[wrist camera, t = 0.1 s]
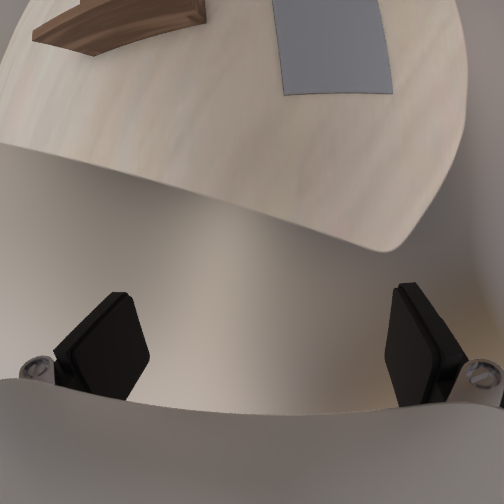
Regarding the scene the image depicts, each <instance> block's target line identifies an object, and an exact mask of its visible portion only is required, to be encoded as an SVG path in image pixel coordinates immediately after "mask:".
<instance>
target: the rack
mask: <svg viewBox="0 0 504 504" xmlns="http://www.w3.org/2000/svg"><path fill="white" fill-rule="evenodd" d="M204 23H206V12H205V1H204V0H80V5H78V6H76V7H74V8H72V9H70V10H68V11H66V12H64V13H62V14H60V15H59V16H57V17H55V18H53V19H52V20H50V21H48V22H46V23H45V24H43V25H41V26H40V27H38V28H36V29H35V30H33V34H32V41H35V42H39V43H44V44H48V45H53V46H57V47H61V48H65V49H69V50H72V51H76V52H80V53H83V54H87V55H90V56H96V55H99V54H101V53H104V52H107V51H109V50H112V49H115V48H117V47H120V46H123V45H126V44H129V43H132V42H135V41H138V40H142V39H145V38H148V37H151V36H155V35H158V34H162V33H166V32H170V31H173V30H177V29H182V28H186V27H190V26H195V25H199V24H204Z"/></svg>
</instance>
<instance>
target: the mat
mask: <svg viewBox="0 0 504 504" xmlns="http://www.w3.org/2000/svg"><path fill="white" fill-rule="evenodd" d="M272 2H273V9H274V16H275V23H276V31H277V38H278V46H279V54H280V62H281V70H282V79H283V88H284V95H298V94H320V93H377V94H393V87H392V79H391V71H390V64H389V58H388V52H387V46H386V40H385V35H384V29H383V24H382V19H381V15H380V10H379V6H378V2H377V0H272Z"/></svg>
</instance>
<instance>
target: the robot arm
mask: <svg viewBox="0 0 504 504" xmlns="http://www.w3.org/2000/svg"><path fill="white" fill-rule="evenodd" d="M53 352H54V354H55V356H56V358H57V360H56V361H55V362H54V361H53V359H52V358H51V357H49V356H37V357H35V358H32V359H30V360H29V361H27V362H26V363H25V364H24V365H23V366H22V367H21V369H20V372H19V378H10V379H2V380H0V504H504V370H503V369H502V368H501V367H500V366H499V365H498V364H496V363H495V362H493V361H490V360H487V359H473V360H470V361H469V360H468V358H467V356H466V355H465V353H464V352H463V350H462V348H461V347H460V345H459V344H458V342H457V340H456V339H455V338H454V336H453V334H452V333H451V331H450V330H449V328H448V327H447V325H446V324H445V322H444V321H443V319H442V318H441V317H440V316H439V315H438V313H437V312H436V310H435V309H434V307H433V306H432V305H431V303H430V302H429V300H428V299H427V297H426V296H425V295H424V293H423V292H422V290H421V289H420V288H419V286H418V285H417V284H416V283H415V282H413V283H402V284H399V286H398V288H394V290H393V296H392V306H391V313H390V321H389V328H388V335H387V341H386V348H385V362H386V365H387V368H388V371H389V375H390V378H391V381H392V384H393V387H394V391H395V394H396V398H397V401H398V404H399V407H397V408H386V409H378V410H369V411H357V412H345V413H330V414H300V415H263V414H236V413H220V412H206V411H196V410H186V409H177V408H169V407H161V406H155V405H148V404H142V403H135V402H130V401H126V399H127V397H128V396H129V394H130V392H131V391H132V389H133V387H134V385H135V384H136V382H137V381H138V379H139V377H140V376H141V374H142V372H143V371H144V369H145V367H146V366H147V364H148V362H149V359H150V354H149V350H148V347H147V345H146V342H145V338H144V335H143V332H142V329H141V326H140V322H139V319H138V316H137V313H136V308H135V305H134V301H133V299H132V297H130V296H129V295H128V293H126V292H112V293H111V294H110V295H108V296H107V297H106V298H105V299H104V300H103V301H102V302H101V303H100V304H99V305H98V306H97V307H96V308H95V309H94V310H93V311H92V312H91V313H90V314H89V315H88V316H87V317H86V318H85V319H84V320H83V321H82V322H81V323H80V324H79V325H78V326H77V327H76V328H75V329H74V330H73V331H72V332H71V333H70V334H69V335H68V336H67V337H66V338H65V339H64V340H63V341H62V342H61V343H60V344H59V345H58V346H57V347H56V348H55V349H54V350H53Z"/></svg>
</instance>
